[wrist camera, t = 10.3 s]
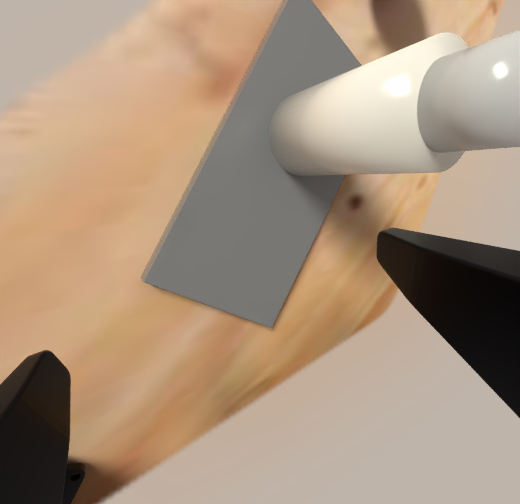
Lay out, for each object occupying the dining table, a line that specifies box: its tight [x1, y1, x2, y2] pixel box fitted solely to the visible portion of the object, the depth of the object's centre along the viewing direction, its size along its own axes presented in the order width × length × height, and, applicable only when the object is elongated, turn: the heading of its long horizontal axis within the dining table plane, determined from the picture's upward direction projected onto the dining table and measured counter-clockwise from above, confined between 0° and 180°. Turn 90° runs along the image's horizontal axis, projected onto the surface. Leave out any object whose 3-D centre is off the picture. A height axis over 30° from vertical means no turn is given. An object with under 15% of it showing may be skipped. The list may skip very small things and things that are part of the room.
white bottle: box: [269, 30, 520, 176], centre depth 15 cm, size 5×5×12 cm
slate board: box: [141, 0, 362, 328], centre depth 20 cm, size 20×10×1 cm, turn 151°
